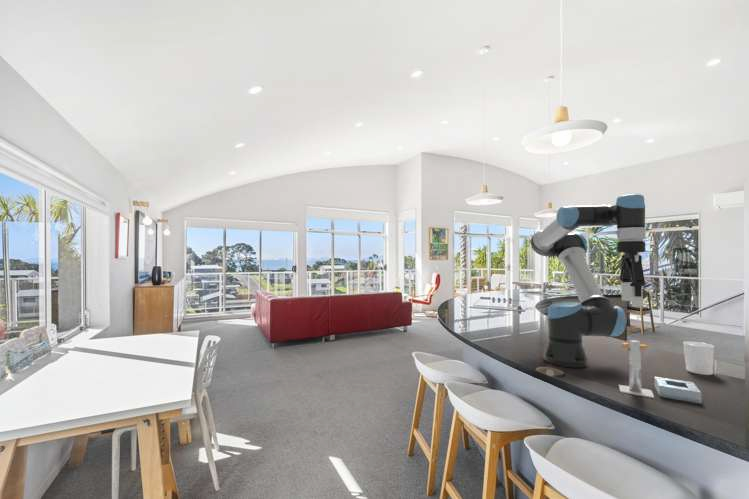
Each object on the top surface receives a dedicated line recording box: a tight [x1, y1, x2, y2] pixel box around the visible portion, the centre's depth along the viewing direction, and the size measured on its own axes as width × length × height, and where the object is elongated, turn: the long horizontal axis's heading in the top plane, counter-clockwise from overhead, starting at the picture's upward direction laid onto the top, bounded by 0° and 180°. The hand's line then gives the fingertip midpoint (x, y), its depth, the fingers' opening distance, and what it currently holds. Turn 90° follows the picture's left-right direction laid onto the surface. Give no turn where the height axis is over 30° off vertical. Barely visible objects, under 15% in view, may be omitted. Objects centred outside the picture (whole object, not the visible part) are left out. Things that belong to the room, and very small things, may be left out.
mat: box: [618, 384, 655, 399], centre depth 100 cm, size 8×6×1 cm
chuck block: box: [654, 376, 703, 404], centre depth 98 cm, size 9×9×3 cm
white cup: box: [683, 340, 715, 376], centre depth 118 cm, size 8×8×10 cm
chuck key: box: [621, 339, 648, 392], centre depth 100 cm, size 3×6×15 cm, turn 66°
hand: (631, 303), depth 110 cm, fingers open, 13 cm apart
